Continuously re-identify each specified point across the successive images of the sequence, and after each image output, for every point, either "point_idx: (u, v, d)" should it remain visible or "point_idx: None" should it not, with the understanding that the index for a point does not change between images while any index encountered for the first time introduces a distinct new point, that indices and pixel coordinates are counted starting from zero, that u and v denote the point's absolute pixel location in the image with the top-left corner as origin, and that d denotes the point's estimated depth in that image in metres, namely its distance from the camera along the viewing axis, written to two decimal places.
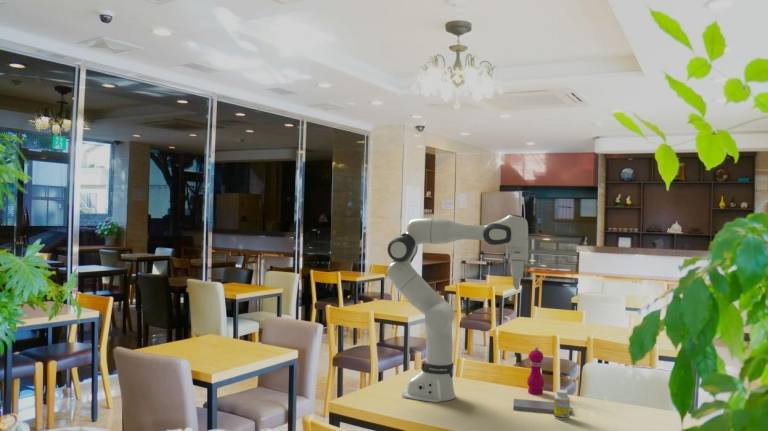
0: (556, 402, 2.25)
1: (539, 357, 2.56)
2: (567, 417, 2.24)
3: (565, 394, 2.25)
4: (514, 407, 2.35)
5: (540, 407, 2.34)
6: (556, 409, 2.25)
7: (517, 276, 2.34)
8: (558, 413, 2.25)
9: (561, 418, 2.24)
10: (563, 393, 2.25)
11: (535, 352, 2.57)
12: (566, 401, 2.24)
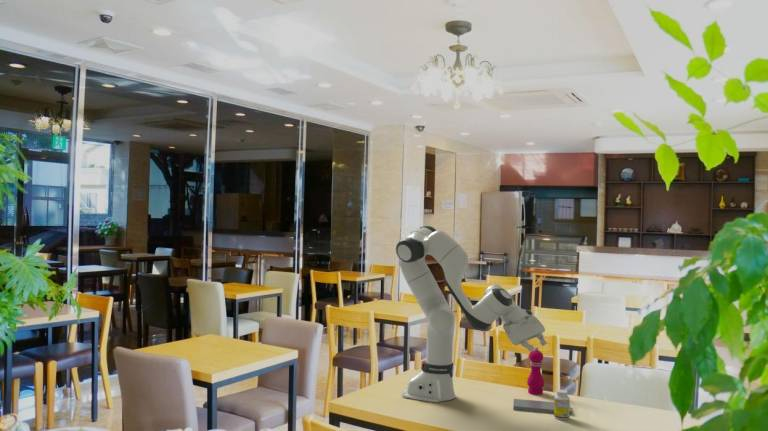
0: (556, 402, 2.25)
1: (539, 357, 2.56)
2: (567, 417, 2.24)
3: (565, 394, 2.25)
4: (514, 407, 2.35)
5: (540, 407, 2.34)
6: (556, 409, 2.25)
7: None
8: (558, 413, 2.25)
9: (561, 418, 2.24)
10: (563, 393, 2.25)
11: (535, 352, 2.57)
12: (566, 401, 2.24)
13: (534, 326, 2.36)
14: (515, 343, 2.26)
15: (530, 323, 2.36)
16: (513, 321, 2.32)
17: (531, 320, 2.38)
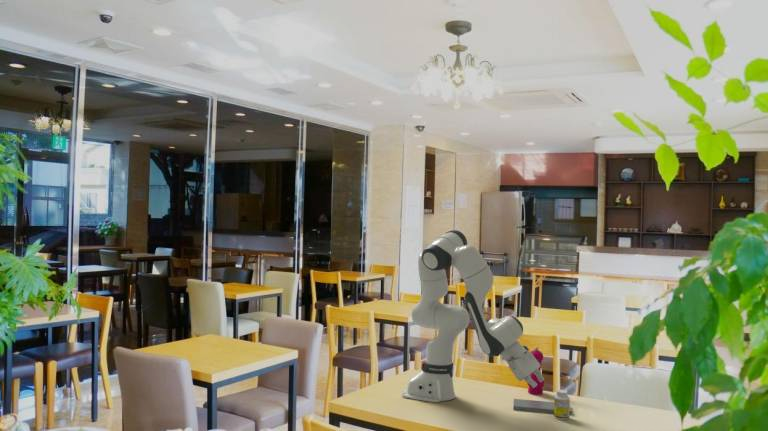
0: (556, 402, 2.25)
1: (539, 357, 2.56)
2: (567, 417, 2.24)
3: (565, 394, 2.25)
4: (514, 407, 2.35)
5: (540, 407, 2.34)
6: (556, 409, 2.25)
7: None
8: (558, 413, 2.25)
9: (561, 418, 2.24)
10: (563, 393, 2.25)
11: (535, 352, 2.57)
12: (566, 401, 2.24)
13: (532, 361, 2.36)
14: (521, 379, 2.24)
15: (528, 359, 2.36)
16: (515, 356, 2.31)
17: (528, 356, 2.38)
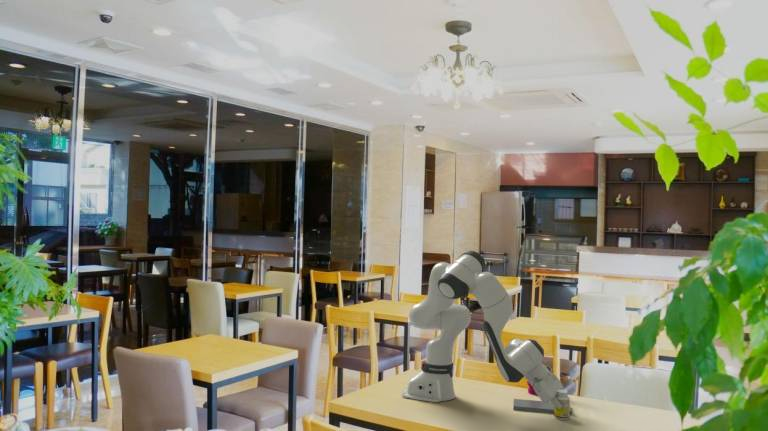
0: None
1: None
2: (567, 417, 2.24)
3: (565, 394, 2.25)
4: (514, 407, 2.35)
5: (540, 407, 2.34)
6: (556, 409, 2.25)
7: None
8: (558, 413, 2.25)
9: (561, 418, 2.24)
10: (563, 393, 2.25)
11: None
12: (566, 401, 2.24)
13: (555, 382, 2.33)
14: (546, 401, 2.20)
15: (551, 380, 2.33)
16: (539, 378, 2.27)
17: (551, 376, 2.34)
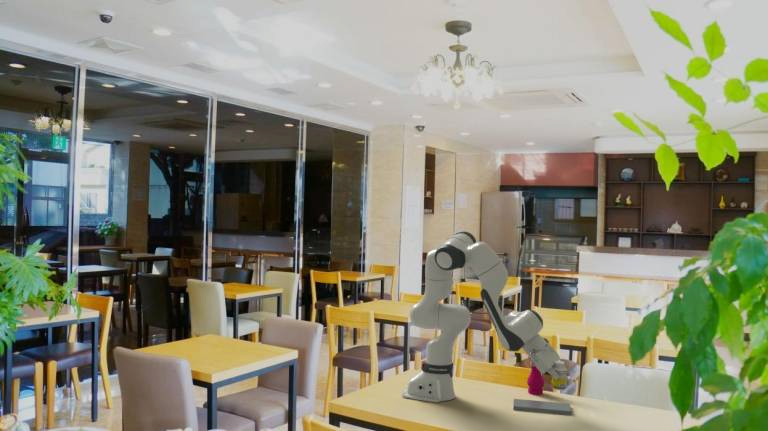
0: None
1: None
2: (564, 387, 2.27)
3: (562, 365, 2.28)
4: (514, 407, 2.35)
5: (540, 407, 2.34)
6: (553, 380, 2.28)
7: None
8: (556, 383, 2.27)
9: (558, 388, 2.27)
10: (560, 364, 2.28)
11: None
12: (563, 371, 2.27)
13: (552, 354, 2.36)
14: (543, 371, 2.23)
15: (548, 351, 2.36)
16: (537, 349, 2.30)
17: (548, 348, 2.37)
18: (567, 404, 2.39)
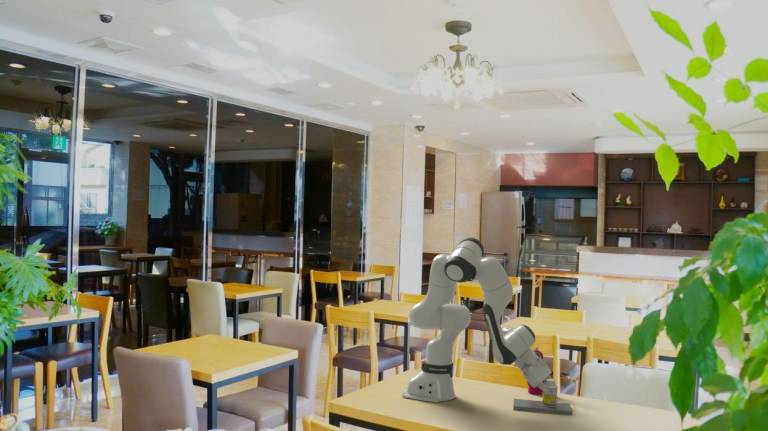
0: None
1: None
2: (555, 404, 2.35)
3: (553, 382, 2.35)
4: (514, 407, 2.35)
5: (540, 407, 2.34)
6: (544, 397, 2.36)
7: None
8: (546, 400, 2.35)
9: (549, 405, 2.34)
10: (551, 381, 2.35)
11: None
12: (554, 389, 2.34)
13: (543, 368, 2.43)
14: (534, 385, 2.30)
15: (540, 365, 2.43)
16: (528, 363, 2.37)
17: (540, 362, 2.44)
18: (567, 404, 2.39)
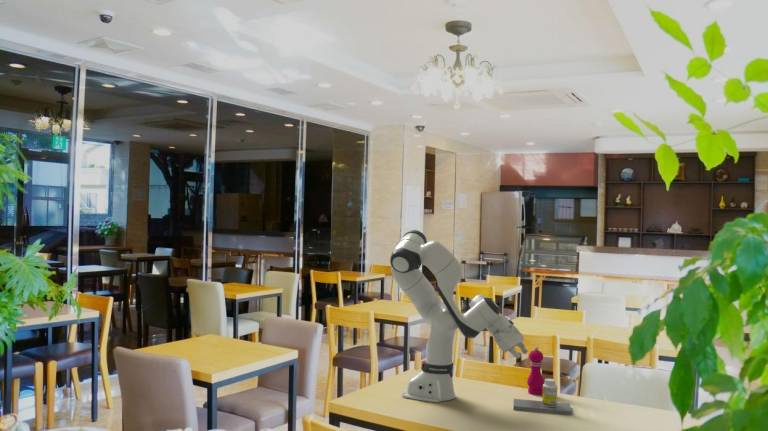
0: (544, 390, 2.36)
1: (539, 357, 2.56)
2: (555, 404, 2.35)
3: (553, 382, 2.35)
4: (514, 407, 2.35)
5: (540, 407, 2.34)
6: (544, 397, 2.36)
7: None
8: (546, 400, 2.35)
9: (549, 405, 2.34)
10: (551, 381, 2.35)
11: (535, 352, 2.57)
12: (554, 389, 2.34)
13: (516, 335, 2.49)
14: (505, 350, 2.36)
15: (512, 332, 2.49)
16: (500, 329, 2.43)
17: (513, 329, 2.50)
18: (567, 404, 2.39)
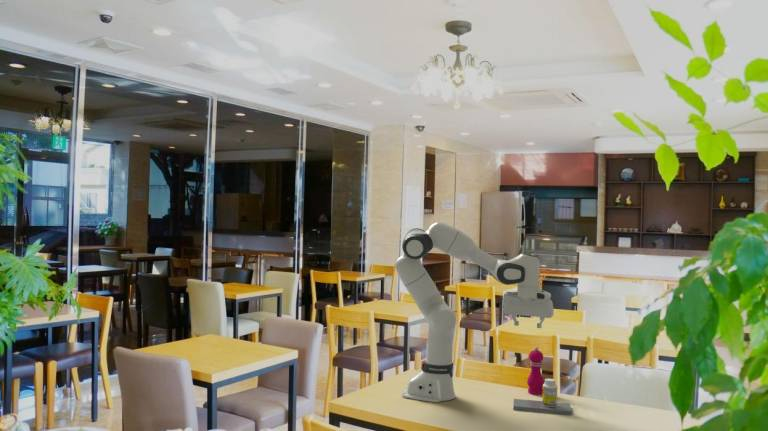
0: (544, 390, 2.36)
1: (539, 357, 2.56)
2: (554, 404, 2.35)
3: (553, 382, 2.35)
4: (514, 407, 2.35)
5: (540, 407, 2.34)
6: (544, 397, 2.36)
7: (552, 315, 2.40)
8: (546, 400, 2.35)
9: (549, 405, 2.34)
10: (551, 381, 2.35)
11: (535, 352, 2.57)
12: (554, 389, 2.34)
13: (538, 309, 2.41)
14: None
15: (537, 304, 2.42)
16: (517, 294, 2.46)
17: (540, 303, 2.41)
18: (567, 404, 2.39)
